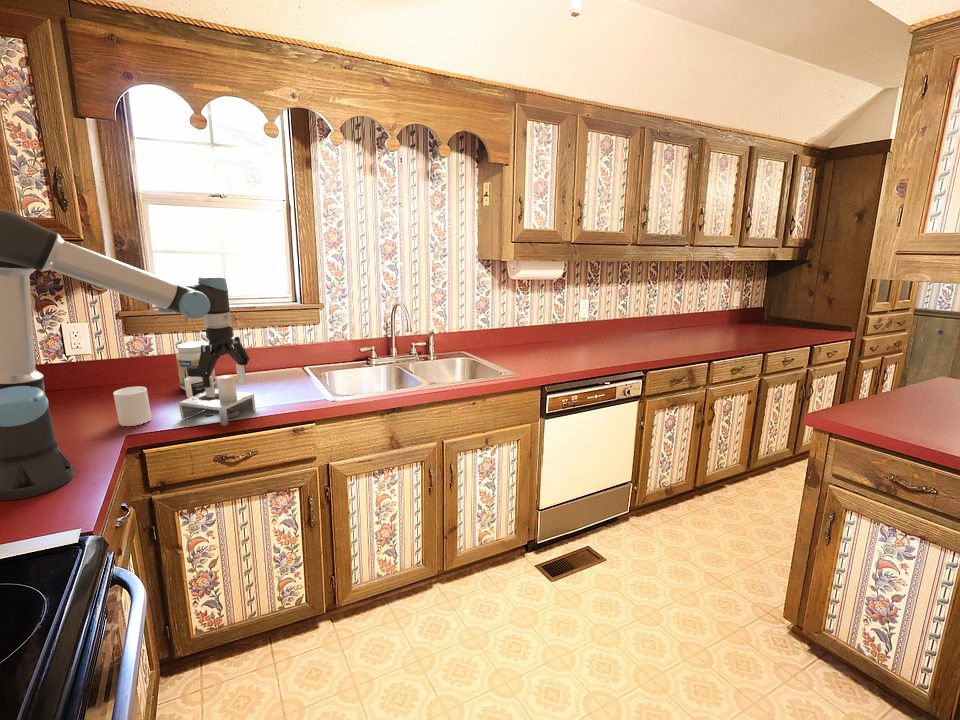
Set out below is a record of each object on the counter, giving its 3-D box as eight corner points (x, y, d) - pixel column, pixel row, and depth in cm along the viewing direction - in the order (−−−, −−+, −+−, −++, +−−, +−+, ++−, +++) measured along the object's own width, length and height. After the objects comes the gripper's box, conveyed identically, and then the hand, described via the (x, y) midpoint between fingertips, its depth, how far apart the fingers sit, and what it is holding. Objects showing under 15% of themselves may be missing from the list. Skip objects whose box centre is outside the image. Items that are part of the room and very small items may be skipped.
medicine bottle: (193, 402, 177) (188, 369, 173) (186, 397, 181) (181, 365, 178) (214, 397, 182) (210, 365, 178) (207, 392, 186) (203, 361, 183)
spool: (231, 419, 161) (226, 380, 157) (218, 417, 162) (212, 378, 159) (242, 413, 166) (237, 375, 162) (229, 411, 167) (224, 374, 163)
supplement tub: (180, 393, 185) (173, 349, 180) (181, 384, 195) (174, 342, 190) (217, 388, 190) (211, 346, 186) (215, 380, 201) (210, 339, 196)
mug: (152, 412, 167) (146, 381, 164) (152, 424, 157) (146, 392, 154) (120, 417, 162) (114, 386, 160) (118, 429, 153) (112, 397, 150)
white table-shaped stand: (224, 425, 156) (222, 407, 155) (181, 419, 161) (178, 402, 159) (255, 410, 169) (253, 393, 168) (214, 404, 174) (212, 388, 172)
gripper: (196, 334, 143) (206, 403, 149) (256, 319, 166) (263, 379, 172) (175, 333, 145) (186, 401, 151) (237, 318, 168) (244, 377, 174)
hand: (227, 389), depth 161 cm, fingers open, 13 cm apart
